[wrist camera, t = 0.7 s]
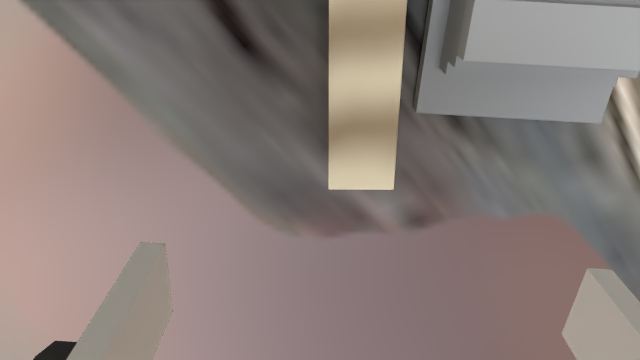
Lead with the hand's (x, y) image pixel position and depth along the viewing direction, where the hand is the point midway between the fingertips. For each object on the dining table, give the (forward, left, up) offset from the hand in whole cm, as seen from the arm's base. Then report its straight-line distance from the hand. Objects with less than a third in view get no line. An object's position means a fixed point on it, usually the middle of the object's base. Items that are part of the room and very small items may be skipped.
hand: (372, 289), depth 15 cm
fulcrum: (-6, +10, -19) cm, 22 cm away
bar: (-6, 0, -19) cm, 20 cm away
